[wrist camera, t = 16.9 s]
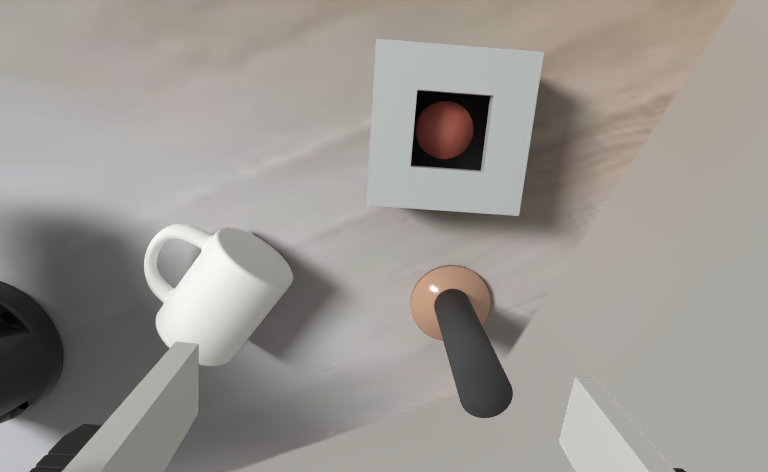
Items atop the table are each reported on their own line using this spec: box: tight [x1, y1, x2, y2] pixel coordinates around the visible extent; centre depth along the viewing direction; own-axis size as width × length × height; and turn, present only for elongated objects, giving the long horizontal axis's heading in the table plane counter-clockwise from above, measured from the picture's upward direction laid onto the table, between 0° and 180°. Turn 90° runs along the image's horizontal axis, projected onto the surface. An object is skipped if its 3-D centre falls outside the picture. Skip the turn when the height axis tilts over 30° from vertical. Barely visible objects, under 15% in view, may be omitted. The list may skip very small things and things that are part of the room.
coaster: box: [411, 265, 491, 341], centre depth 45 cm, size 8×8×1 cm
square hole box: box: [366, 39, 544, 216], centre depth 37 cm, size 12×12×8 cm
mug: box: [144, 224, 293, 366], centre depth 41 cm, size 12×10×8 cm
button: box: [414, 101, 473, 159], centre depth 38 cm, size 5×5×3 cm
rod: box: [434, 289, 513, 418], centre depth 38 cm, size 4×4×15 cm
